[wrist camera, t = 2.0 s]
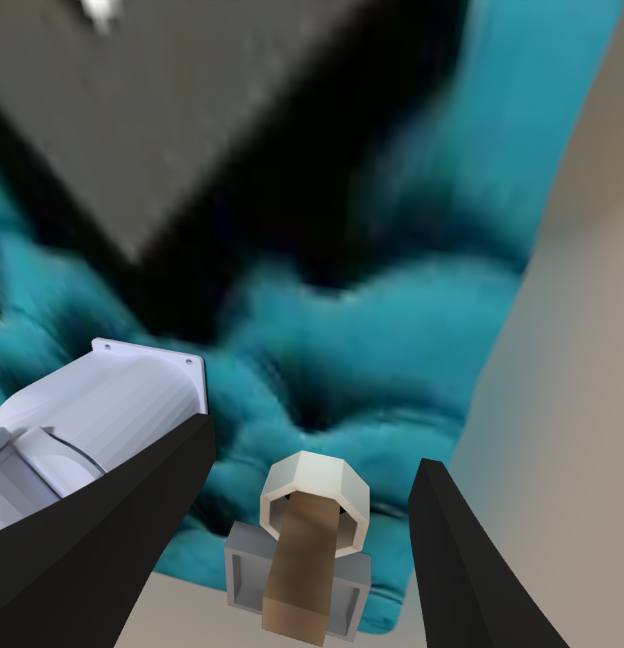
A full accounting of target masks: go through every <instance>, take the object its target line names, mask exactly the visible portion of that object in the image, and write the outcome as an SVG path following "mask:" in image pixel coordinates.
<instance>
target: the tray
mask: <svg viewBox="0 0 624 648" xmlns="http://www.w3.org/2000/svg"><path fill="white" fill-rule="evenodd" d="M277 543H278V541H277V540H276V539H275V538H274V537H273V536H272V535H271V534H270V533H269V532H268V531H266V530H265V529H264V528H262V527H259V526H255V525H251V524H247V523H243V522H239V521H235V522H234V524H233V527H232V529H231V532H230V534H229V536H228V539H227V541H226V543H225V546H224V553H225V568H226V584H227V598H228V605H230V606H233V607H237V608H240V609H244V610H247V611H250V612H253V613H257V614H260V615H262V608H263V595H264V591H265V587H266V583H267V580H268V576H269V572H270V569H271V565H272V561H273V557H274V554H275V550H276V546H277ZM370 588H371V555H367V554H363V553H359V552H355V553H352V554H348V555H344V556H341V557H337V558H335V564H334V574H333V585H332V595H331V605H330V616H329V620H328V625H327V629H326V635H330V636H333V637H337V638H340V639H343V640H346V641H350V642H353V641H354V637H355V634H356V631H357V628H358V625H359V622H360V619H361V616H362V613H363V610H364V606H365V603H366V600H367V597H368V594H369V591H370Z"/></svg>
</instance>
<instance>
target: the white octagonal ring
mask: <svg viewBox="0 0 624 648" xmlns="http://www.w3.org/2000/svg"><path fill="white" fill-rule="evenodd" d="M296 490H298V491H302V492H306V493H311V494H315V495H319V496H323V497H327V498H332V499H335V500H336V501H337V502H338V503H339V504H340V505H341V506H342V507H343V508H344V509H345V510H346V511H347V512H345V513H343V514H340V515H339V523H338V533H337V543H336V554H335V558H337V557H341V556H344V555H348V554H352V553H355V552H359V551H362V548H363V544H364V540H365V537H366V533H367V529H368V526H369V486H368V485H367V484H366V483H365V482H364V481H363V480H362V479H361V478H360V477H359V475H358V474H357V473H356V472H355V471H354V470H353V469H352V468H351V467H350V466H349V465H348V464H347V463H346V461H345V460H344V459H339V458H334V457H330V456H325V455H320V454H316V453H311V452H307V451H302V450H301V451H300V452H297V453H295V454H293V455H291V456H289V457H287V458H285V459H283V460H281V461H279V462H277V463H275V464H273V465H272V466H271V469H270V472H269V474H268V477H267V480H266V482H265V485H264V488H263V491H262V493H261V496H260V525H261V526H262V527H263V528H264V529H265V530H266V531H268V532H269V533H270V534H271V535H272V536H273V537H274V538H275V539H276V540H277V541H278V539H279V535H280V532H281V528H282V524H283V520H284V517H285V513H286V509H287V506H288V502H289V500H288V499H287V498H285V497H284V495H287V494H289V493H291V492H294V491H296Z"/></svg>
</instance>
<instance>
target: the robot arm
mask: <svg viewBox="0 0 624 648" xmlns="http://www.w3.org/2000/svg"><path fill="white" fill-rule="evenodd" d="M92 347H93V351H92V352H90V353H88V354H86V355H85V356H83V357H81V358H79V359H77V360H75V361H73V362H72V363H70V364H68V365H66V366H64V367H62V368H61V369H59V370H57V371H55V372H53V373H51V374H49V375H48V376H46V377H44V378H42V379H40V380H38V381H37V382H35V383H33V384H31V385H29V386H27V387H25V388H24V389H22V390H20V391H19V392H17V393H16V394H14V395H13V396H11V397H10V398H9V399H8V400H7V401H6V402H5V403H4V404H3V405H2V406H1V407H0V648H113V647H114V646H115V644H116V642H117V639H118V637H119V635H120V633H121V631H122V629H123V627H124V625H125V623H126V621H127V619H128V617H129V615H130V613H131V611H132V609H133V607H134V605H135V603H136V601H137V599H138V597H139V595H140V593H141V591H142V589H143V587H144V585H145V583H146V581H147V580H148V577H149V575H150V574H151V572H152V570H153V568H154V567H155V565H156V563H157V561H158V559H159V558H160V556H161V554H162V553H163V551H164V549H165V548H166V546H167V544H168V543H169V541H170V540H171V538H172V536H173V535H174V533H175V531H176V530H177V528H178V526H179V525H180V523H181V522H182V520H183V518H184V517H185V515H186V513H187V512H188V510H189V508H190V507H191V505H192V503H193V502H194V500H195V498H196V497H197V495H198V493H199V492H200V490H201V488H202V487H203V485H204V483H205V481H206V478H207V476H208V474H209V472H210V470H211V468H212V466H213V463H214V461H215V459H216V448H215V435H214V422H213V415H208V411H207V398H206V385H205V373H204V362H203V359H202V358H201V357H200V356H197V355H191V354H186V353H180V352H175V351H169V350H164V349H158V348H153V347H147V346H142V345H136V344H131V343H125V342H120V341H114V340H109V339H103V338H96V339H94V340H92ZM189 360H191V361H192V362H190V361H189ZM408 510H409V528H410V539H411V546H412V552H413V558H414V565H415V571H416V577H417V583H418V589H419V595H420V602H421V608H422V614H423V620H424V627H425V634H426V641H427V648H570V647H569V646H568V645H567V643H566V642H565V641H564V640H563V639H562V637H561V636H560V635H559V633H558V632H557V631H556V630H555V628H554V627H553V626H552V624H551V623H550V622H549V621H548V619H547V618H546V617H545V616H544V614H543V613H542V611H541V610H540V609H539V608H538V606H537V605H536V604H535V602H534V601H533V599H532V598H531V597H530V595H529V594H528V593H527V591H526V590H525V589H524V587H523V586H522V585H521V583H520V582H519V580H518V579H517V577H516V576H515V575H514V573H513V572H512V570H511V569H510V568H509V566H508V565H507V563H506V562H505V561H504V559H503V558H502V556H501V555H500V553H499V552H498V550H497V549H496V547H495V546H494V544H493V543H492V541H491V540H490V538H489V537H488V535H487V534H486V532H485V531H484V530H483V528H482V526H481V525H480V523H479V522H478V520H477V518H476V517H475V515H474V514H473V512H472V511H471V509H470V507H469V506H468V504H467V502H466V501H465V499H464V498H463V496H462V494H461V493H460V491H459V489H458V488H457V486H456V484H455V483H454V481H453V479H452V478H451V476H450V474H449V473H448V471H447V469H446V468H445V466H444V464H443V463H442V462H440V461H435V460H430V459H425V458H422V459H421V462H420V465H419V468H418V471H417V474H416V477H415V480H414V483H413V486H412V489H411V492H410V495H409V498H408Z"/></svg>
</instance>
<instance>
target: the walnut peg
mask: <svg viewBox="0 0 624 648" xmlns="http://www.w3.org/2000/svg"><path fill="white" fill-rule="evenodd" d="M339 513H340V504H339V503H338V502H337V501H336V500H335V499H332V498H327V497H323V496H319V495H315V494H311V493H306V492H302V491H298V490H296V491H294V492H291V494H290V498H289V502H288V506H287V509H286V513H285V517H284V520H283V524H282V528H281V532H280V535H279V539H278V543H277V546H276V550H275V554H274V557H273V561H272V565H271V569H270V572H269V576H268V580H267V583H266V587H265V591H264V595H263V608H262V629H264V630H267V631H271V632H274V633H277V634H280V635H284V636H287V637H290V638H293V639H297V640H300V641H303V642H307V643H310V644H313V645H316V646H320V647H322V646H323V642H324V638H325V634H326V629H327V625H328V620H329V616H330V605H331V595H332V585H333V574H334V564H335V554H336V543H337V533H338V523H339Z"/></svg>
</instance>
